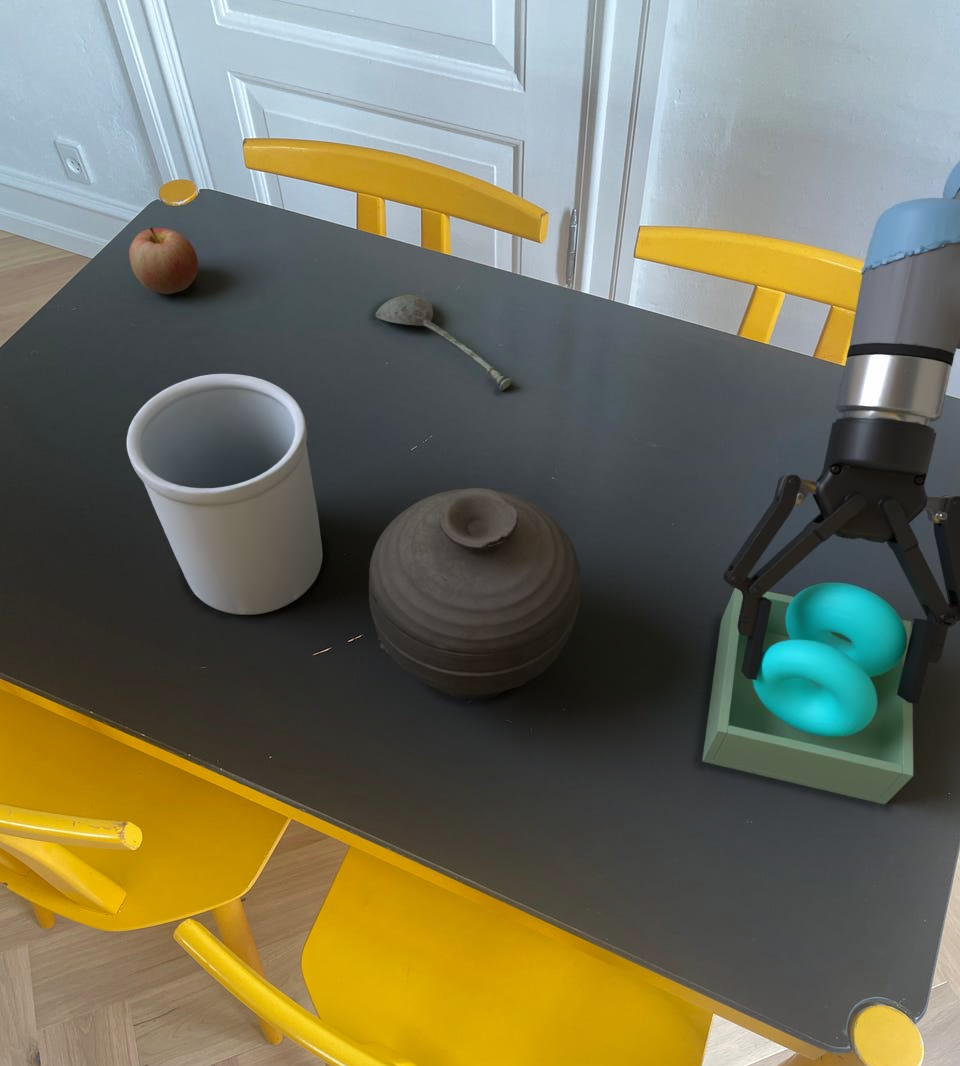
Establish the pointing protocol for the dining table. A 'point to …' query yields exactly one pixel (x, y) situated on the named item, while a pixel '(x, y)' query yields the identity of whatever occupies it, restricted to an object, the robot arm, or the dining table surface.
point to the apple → (163, 260)
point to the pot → (474, 591)
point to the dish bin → (788, 753)
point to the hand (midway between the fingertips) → (827, 687)
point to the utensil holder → (231, 489)
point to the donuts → (830, 659)
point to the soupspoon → (428, 325)
